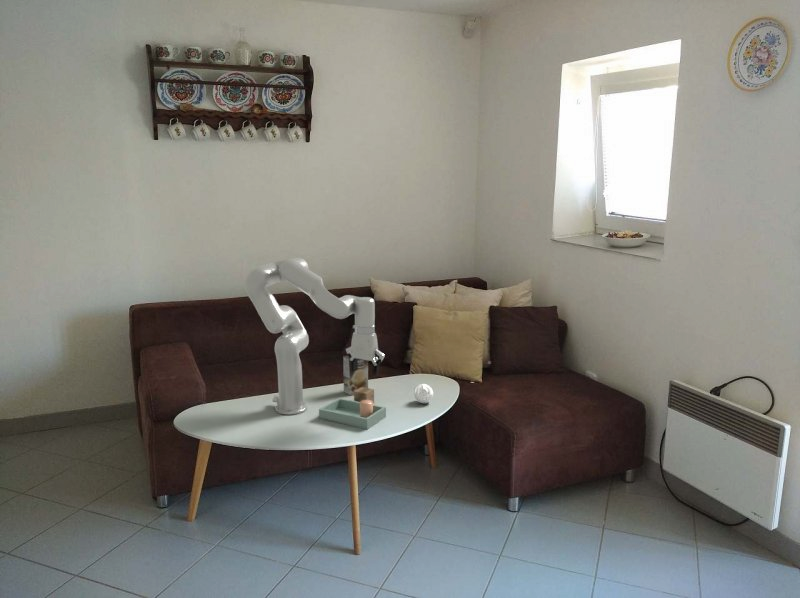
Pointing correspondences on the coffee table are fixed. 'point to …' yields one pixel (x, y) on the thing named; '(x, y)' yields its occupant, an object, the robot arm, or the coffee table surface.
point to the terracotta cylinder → (366, 408)
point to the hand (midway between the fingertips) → (365, 372)
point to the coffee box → (355, 375)
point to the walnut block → (364, 394)
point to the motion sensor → (423, 393)
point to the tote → (350, 413)
